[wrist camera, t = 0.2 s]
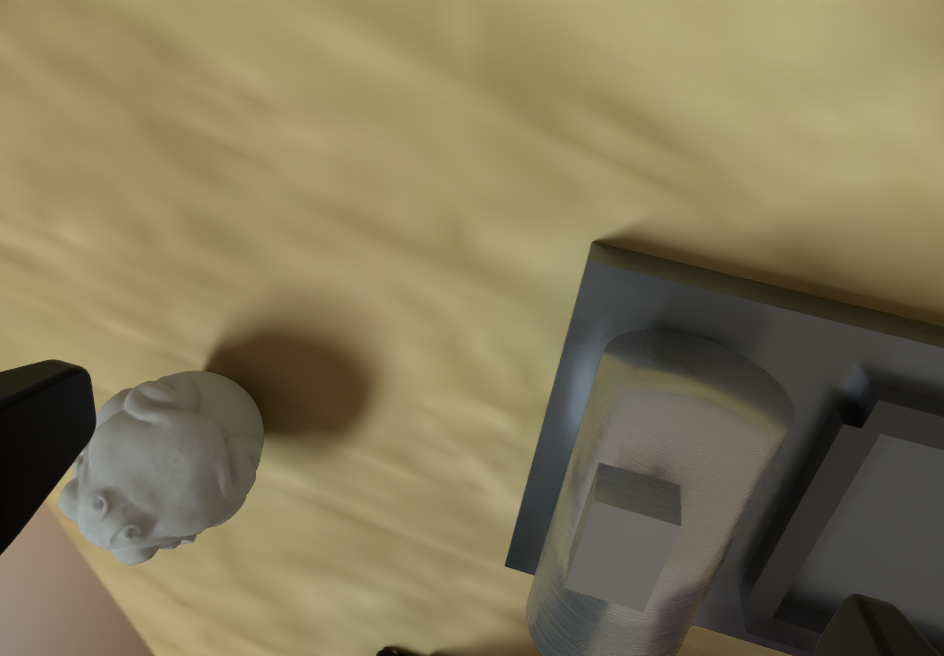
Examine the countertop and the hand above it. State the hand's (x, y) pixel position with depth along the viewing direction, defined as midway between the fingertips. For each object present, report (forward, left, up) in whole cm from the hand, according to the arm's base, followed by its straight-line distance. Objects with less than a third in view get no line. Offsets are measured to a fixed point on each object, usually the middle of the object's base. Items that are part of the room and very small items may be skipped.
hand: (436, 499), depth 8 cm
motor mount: (-9, -11, -14) cm, 20 cm away
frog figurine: (-13, +11, -15) cm, 22 cm away
